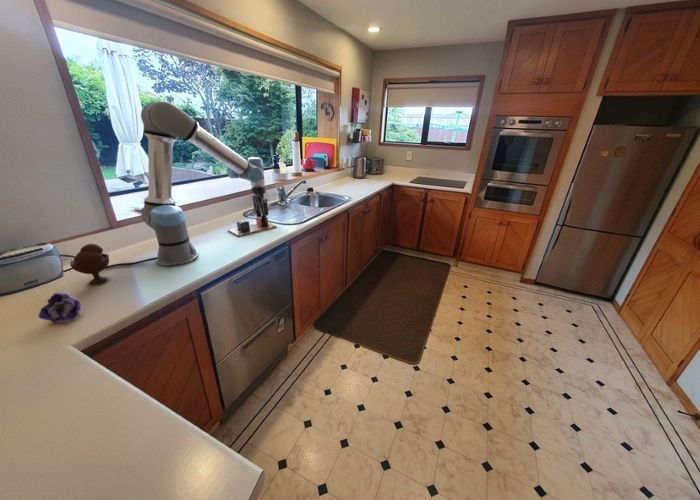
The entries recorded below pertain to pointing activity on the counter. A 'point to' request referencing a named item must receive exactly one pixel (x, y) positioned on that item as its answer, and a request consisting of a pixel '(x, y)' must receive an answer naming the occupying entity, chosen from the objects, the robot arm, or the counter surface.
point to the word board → (251, 229)
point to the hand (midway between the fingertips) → (262, 224)
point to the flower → (61, 308)
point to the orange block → (260, 221)
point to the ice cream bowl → (91, 262)
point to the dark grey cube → (243, 225)
